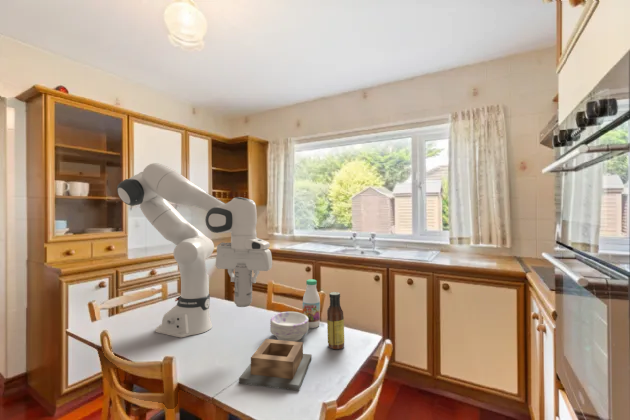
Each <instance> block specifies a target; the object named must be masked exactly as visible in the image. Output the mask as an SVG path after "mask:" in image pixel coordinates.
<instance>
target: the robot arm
mask: <svg viewBox="0 0 630 420" xmlns="http://www.w3.org/2000/svg"><path fill="white" fill-rule="evenodd" d="M116 192H117V195H118V197H119V198H120V200H121V201H122V202H123V203H124V204H126V205H128V206H132V207H134V206H138V205H139V208H140V210H141V212H142V213H143V215H144V217H145V218H146V220H148V222H149V223H150V224H151V225H152V226H153V227H154V229H156V230H157V231H158V232H159V234H160V235H162V237H163V238H164V239H165V240H167V241H168V242H171V243H173V244H175V245H176V246H175V248H174V250H173V258H174V260H175V262H176V263H177V265H178V269H179V274H180V295H179V296H178V297H176V298H175V299H174V302H177V303H176V305H175V306H173V307H172V308H171V309H169V310H168V311H167V312H165V313H164V314H163V317H162V319H161V324H159V325H157V326H156V328H155V333H159V334H163V335H168V336H172V337H176V338H186V337H189V336H193V335H198V334H202V333H205V332H208V331H209V330H211V329H212V328H213V323H212V321H211V315H210V314H211V313H210V305H211V303H210V302H211V295H210V293H209V292H210V291H209V290H210V288H209V287H210V276H209V273H208V271H207V266H206V260H208V258H210V257H211V256H212V254H213V252H214V251H215V244H214V242H213V240H212V239H211V238H210V237H207V236H206V235H205V234H204V233H203V232H201V231H200V230H199V229H197V228H196V227H195V226H194V225H192V224H191V223H190V222H189V221H188V220H187V219H186V218H185V217H184V216H182V214H181V213H180V212H179V211H178V210H177V209H176V208H175V207H174V206H173V205H172V204H175V205H180V206H190V207H195V208H200V209H202V210H204V211H206V216H205V218H204V219H205V221H204V222H205V225H206V228H207V229H208V231H210V232H212V233H214V234H227V233H230V242H220V243H219V244H217V246H216V256H215V267H216V268H217V269H218V270H220V269H222V270H227V273H228V275H229V277H230V283H231V282H232V283H235V267H236V265H237V263H238V264H246V266H247V268H248V270H252V274H253V275H252V278H250V280H251V281H250V283H252V284H256V283H257V277H258V275H260V272H261V271H262V272H263V271H264V272H268V271H270V270H271V269H272V268H273V257H272V256H273V255H272V251H271V250H270V249H269V248H270V246H271V245H270V244H271V243H270V242H269V241H267V240H265V239H262V238H259V237H257V235H258V233H257V228H256V227H257V224H258V214H257V212H258V211H257V205H256V202H255V201H254V200H253V199H251V198H247V197H241V196H236V197H233V198H232V199H231V200H230V201H228V202H224V201H222V200H220V199H219V198H217V197H215V196H214V195H212V194H210V193H208V192H207V191H205V190H204V189H202V188H201V187H199V186H198V185H197V184H195V183H193V182H192V181H191V180H189V179H188V178H186V177H185V176H184V175H182V174H181V173H179V171H176V170H174V169H173V168H171V167H169V166H166V165H164V164H162V163H158V162H153V163H149V164H148V165H147V166H145V167H144V169H143V170H142V171H141V172H139V173H138V174H134V175H133V176H131V177H129V178H127V179H123V180H122V181H121V182H119V183H118V184H117V188H116ZM171 203H172V204H171Z"/></svg>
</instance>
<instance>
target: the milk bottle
mask: <svg viewBox="0 0 630 420" xmlns="http://www.w3.org/2000/svg"><path fill="white" fill-rule="evenodd" d="M317 282H318V281H317V280H316V279H312V278H311V279H307V280H306V288H305V292H304V294H303V298H302V312H301V313H302V314H305V315H306V316H307V317H308V319H309V320H308V323H309V325H308V329H317V328H318V327H320V324H321V323H320V322H321V319H320V318H321V316H320V315H321V314H320V313H321V312H320V311H321V299H320V295H319V292H318V289H317Z"/></svg>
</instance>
